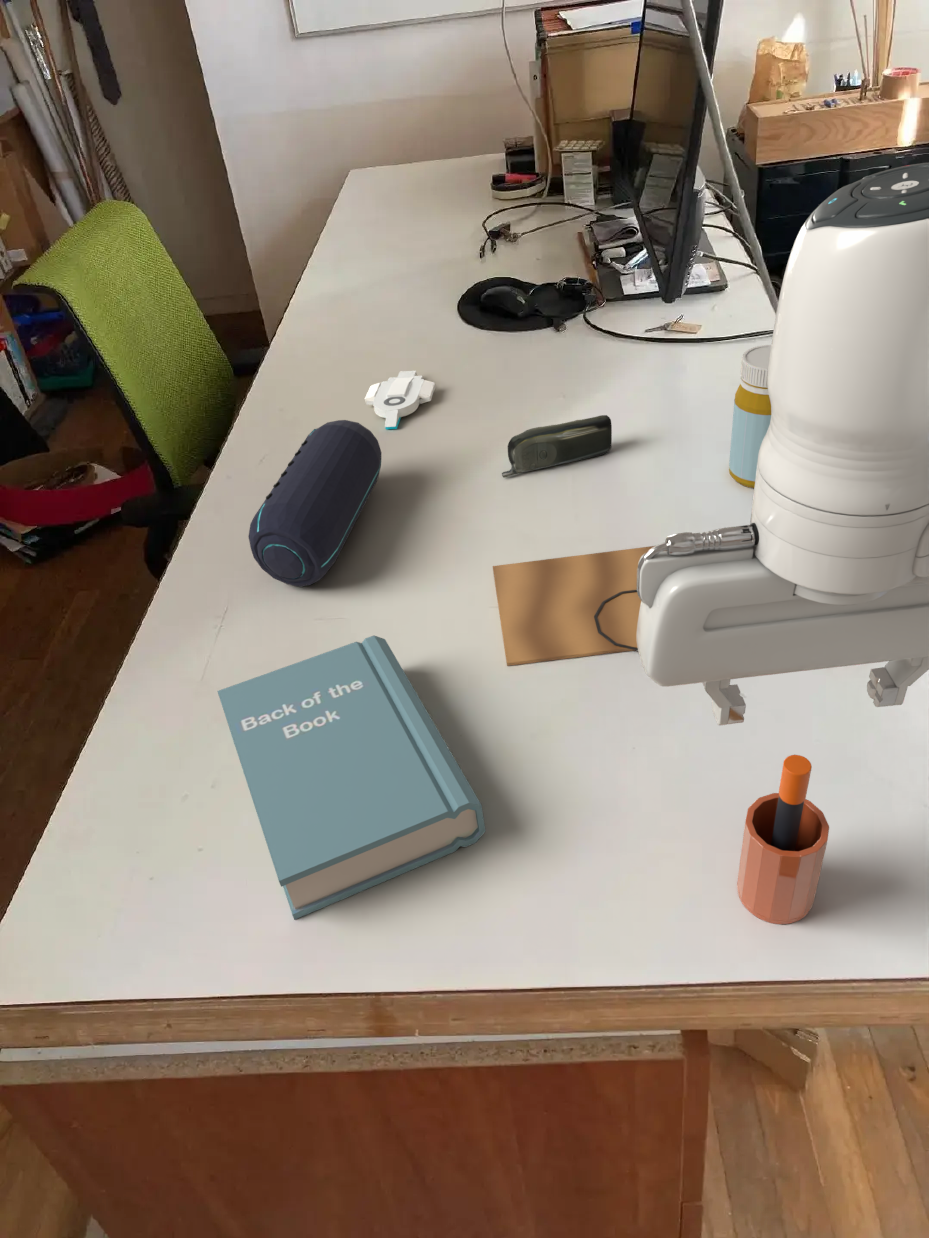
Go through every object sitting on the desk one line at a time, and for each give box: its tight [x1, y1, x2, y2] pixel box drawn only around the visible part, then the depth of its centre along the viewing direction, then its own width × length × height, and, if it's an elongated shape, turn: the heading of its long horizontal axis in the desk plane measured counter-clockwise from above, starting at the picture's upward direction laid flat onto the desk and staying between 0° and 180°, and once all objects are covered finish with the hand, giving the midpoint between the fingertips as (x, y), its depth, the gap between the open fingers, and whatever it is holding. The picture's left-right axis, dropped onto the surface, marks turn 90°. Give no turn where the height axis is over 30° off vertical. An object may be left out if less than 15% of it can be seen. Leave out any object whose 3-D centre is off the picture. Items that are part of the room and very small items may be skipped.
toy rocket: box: [363, 370, 436, 430], centre depth 135 cm, size 16×10×2 cm, turn 173°
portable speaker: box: [248, 419, 382, 588], centre depth 108 cm, size 25×10×10 cm, turn 168°
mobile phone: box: [501, 414, 613, 478], centre depth 117 cm, size 5×3×15 cm
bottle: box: [728, 344, 771, 489], centre depth 106 cm, size 7×7×15 cm
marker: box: [771, 754, 813, 851], centre depth 63 cm, size 2×2×14 cm
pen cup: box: [736, 792, 830, 925], centre depth 65 cm, size 5×5×8 cm
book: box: [217, 635, 486, 921], centre depth 79 cm, size 23×16×5 cm
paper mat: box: [492, 545, 656, 667], centre depth 95 cm, size 22×17×1 cm
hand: (805, 707), depth 56 cm, fingers open, 8 cm apart
